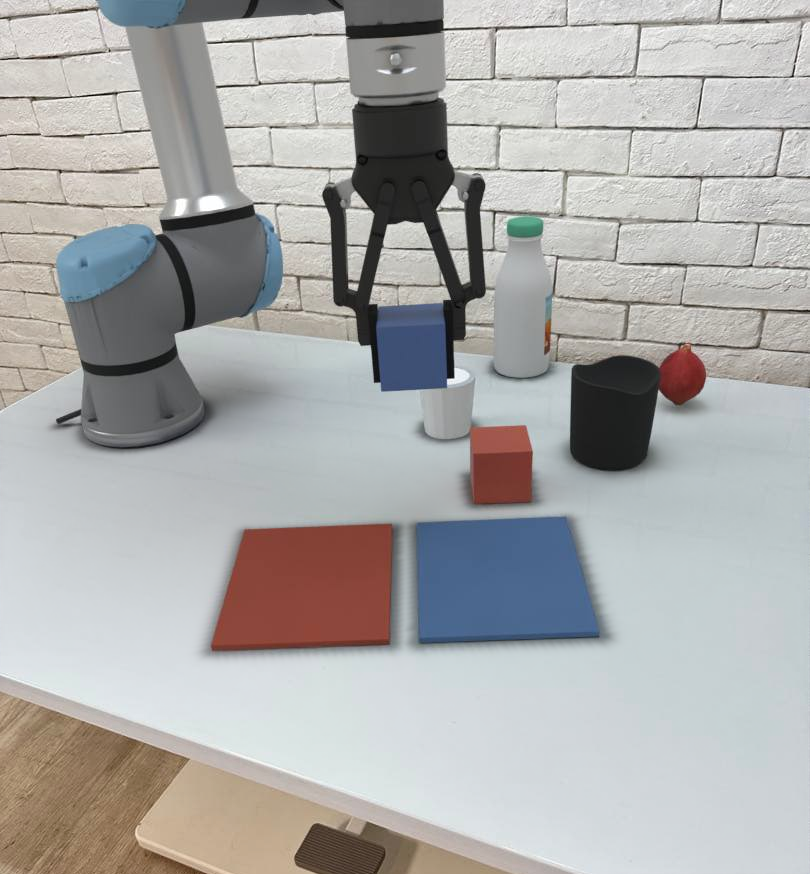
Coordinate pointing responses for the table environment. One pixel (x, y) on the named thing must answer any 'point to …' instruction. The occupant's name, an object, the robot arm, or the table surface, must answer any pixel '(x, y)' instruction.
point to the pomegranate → (682, 375)
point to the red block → (500, 464)
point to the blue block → (412, 347)
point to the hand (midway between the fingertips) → (413, 374)
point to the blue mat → (501, 581)
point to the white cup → (449, 406)
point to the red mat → (308, 588)
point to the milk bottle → (523, 303)
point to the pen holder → (613, 411)
